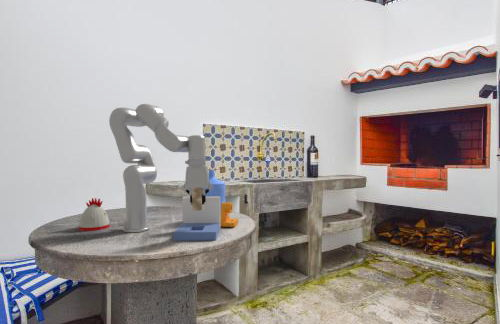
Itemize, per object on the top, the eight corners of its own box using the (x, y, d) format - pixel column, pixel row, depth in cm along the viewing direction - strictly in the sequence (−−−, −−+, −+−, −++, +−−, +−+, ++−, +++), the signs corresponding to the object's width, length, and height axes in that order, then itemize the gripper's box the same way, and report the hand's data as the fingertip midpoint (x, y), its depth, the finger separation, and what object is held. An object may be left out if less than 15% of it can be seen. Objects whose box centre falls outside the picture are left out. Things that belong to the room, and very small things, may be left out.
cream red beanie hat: (100, 231, 148) (99, 200, 148) (72, 231, 149) (72, 200, 149) (114, 224, 162) (114, 196, 162) (89, 224, 163) (89, 196, 162)
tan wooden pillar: (192, 210, 134) (191, 187, 134) (194, 208, 140) (194, 186, 140) (201, 210, 134) (201, 187, 134) (203, 208, 140) (203, 186, 140)
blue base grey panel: (173, 240, 130) (173, 202, 130) (183, 229, 150) (183, 196, 150) (215, 240, 131) (215, 202, 130) (220, 229, 151) (220, 196, 150)
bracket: (233, 228, 153) (233, 204, 152) (219, 227, 154) (219, 203, 154) (238, 223, 163) (238, 201, 163) (225, 223, 165) (225, 200, 164)
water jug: (214, 216, 185) (214, 169, 184) (231, 219, 173) (230, 170, 173) (192, 219, 174) (191, 170, 174) (208, 224, 162) (207, 171, 162)
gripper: (176, 163, 133) (177, 205, 133) (214, 162, 133) (215, 205, 133) (180, 163, 141) (181, 203, 141) (216, 162, 141) (217, 202, 141)
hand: (198, 203), depth 137 cm, fingers closed on tan wooden pillar, 4 cm apart
